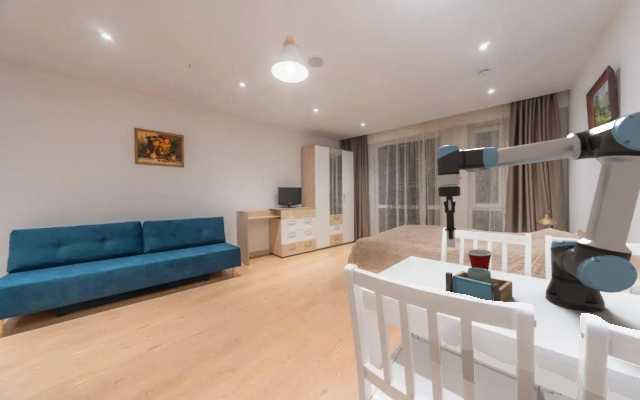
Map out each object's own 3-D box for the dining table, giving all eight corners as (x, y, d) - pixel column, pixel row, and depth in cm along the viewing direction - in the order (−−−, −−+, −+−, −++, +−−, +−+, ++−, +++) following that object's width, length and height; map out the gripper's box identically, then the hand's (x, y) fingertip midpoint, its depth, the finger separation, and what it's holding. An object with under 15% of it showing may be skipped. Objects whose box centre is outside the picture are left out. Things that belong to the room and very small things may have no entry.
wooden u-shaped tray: (512, 296, 96) (512, 275, 96) (499, 308, 87) (498, 285, 87) (461, 283, 111) (461, 265, 111) (446, 292, 102) (445, 273, 102)
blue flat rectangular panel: (492, 303, 90) (492, 284, 90) (490, 304, 90) (490, 285, 89) (454, 292, 101) (454, 275, 101) (453, 293, 100) (452, 276, 100)
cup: (494, 298, 95) (494, 273, 95) (472, 297, 96) (472, 273, 96) (485, 291, 102) (485, 267, 102) (465, 290, 104) (464, 267, 104)
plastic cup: (462, 272, 127) (461, 249, 126) (479, 270, 129) (479, 248, 128) (479, 279, 116) (478, 254, 116) (498, 277, 118) (497, 252, 118)
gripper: (461, 185, 86) (463, 251, 86) (459, 185, 97) (461, 244, 98) (437, 186, 89) (439, 250, 90) (438, 187, 101) (440, 243, 101)
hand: (451, 246), depth 94 cm, fingers closed
